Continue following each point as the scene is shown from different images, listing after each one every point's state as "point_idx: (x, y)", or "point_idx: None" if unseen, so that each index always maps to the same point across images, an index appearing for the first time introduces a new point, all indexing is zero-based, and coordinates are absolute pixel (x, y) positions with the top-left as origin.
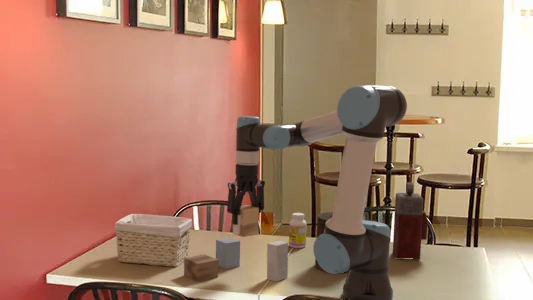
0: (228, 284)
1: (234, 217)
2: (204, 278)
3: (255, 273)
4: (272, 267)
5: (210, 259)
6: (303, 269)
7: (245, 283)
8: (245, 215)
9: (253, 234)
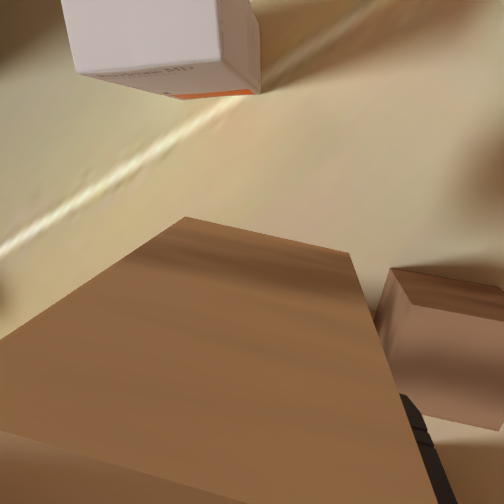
0: (450, 165)
1: (449, 493)
2: (466, 284)
3: (235, 193)
4: (250, 38)
5: (434, 335)
6: (31, 81)
7: (383, 119)
8: (357, 396)
9: (231, 229)
